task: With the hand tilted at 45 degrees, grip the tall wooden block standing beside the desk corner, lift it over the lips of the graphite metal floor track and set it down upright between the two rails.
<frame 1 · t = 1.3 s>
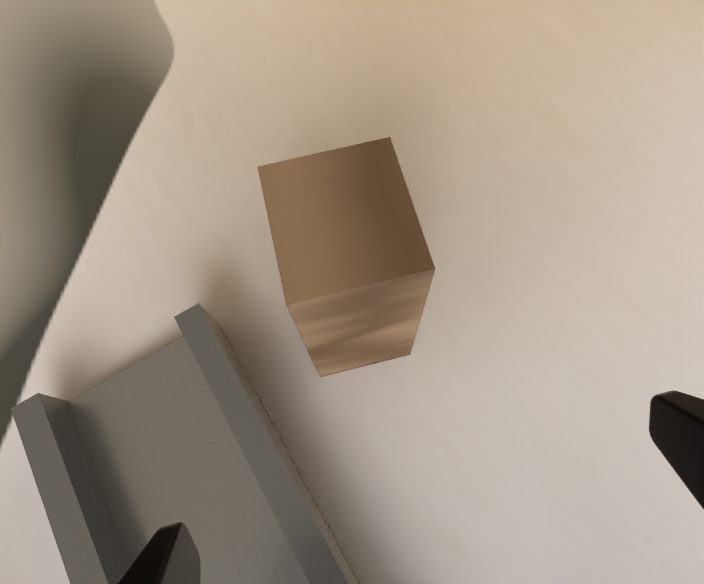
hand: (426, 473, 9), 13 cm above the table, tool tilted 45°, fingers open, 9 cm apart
wooden tall block: (352, 318, 25), on the table
floor track: (229, 567, 21), on the table
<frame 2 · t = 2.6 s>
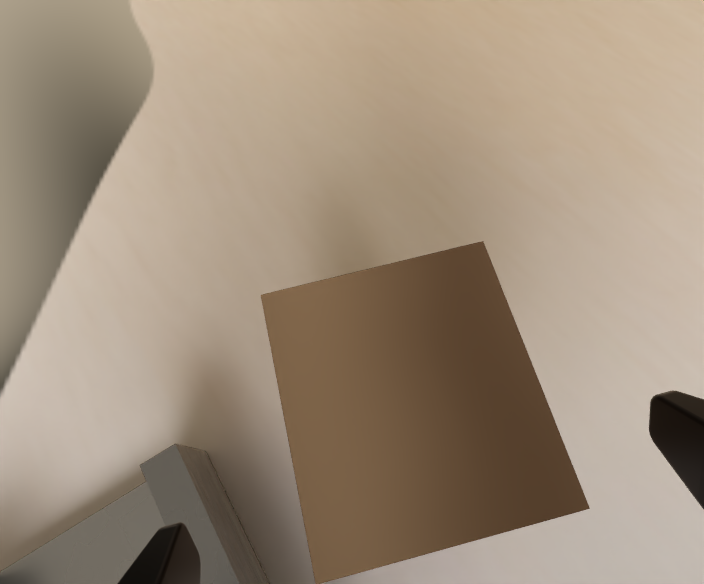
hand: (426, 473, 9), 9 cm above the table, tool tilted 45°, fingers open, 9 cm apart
wooden tall block: (390, 443, 18), on the table
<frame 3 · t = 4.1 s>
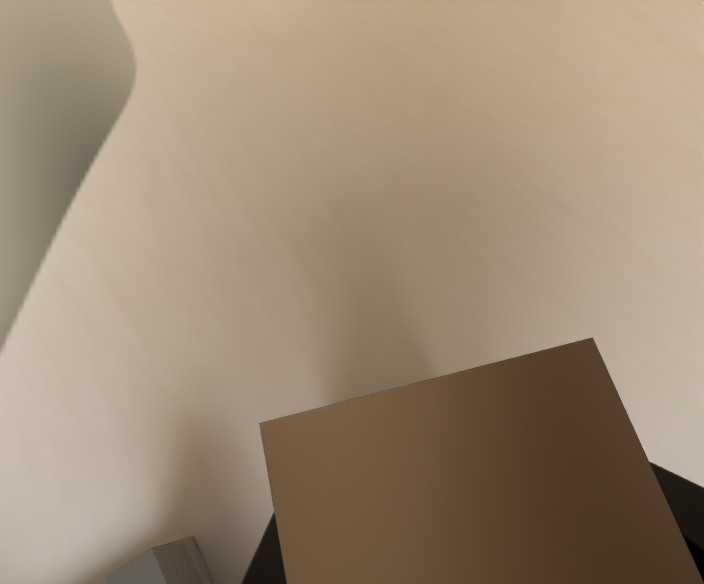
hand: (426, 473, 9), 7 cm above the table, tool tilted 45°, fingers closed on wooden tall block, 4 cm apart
wooden tall block: (417, 526, 15), on the table, touching gripper
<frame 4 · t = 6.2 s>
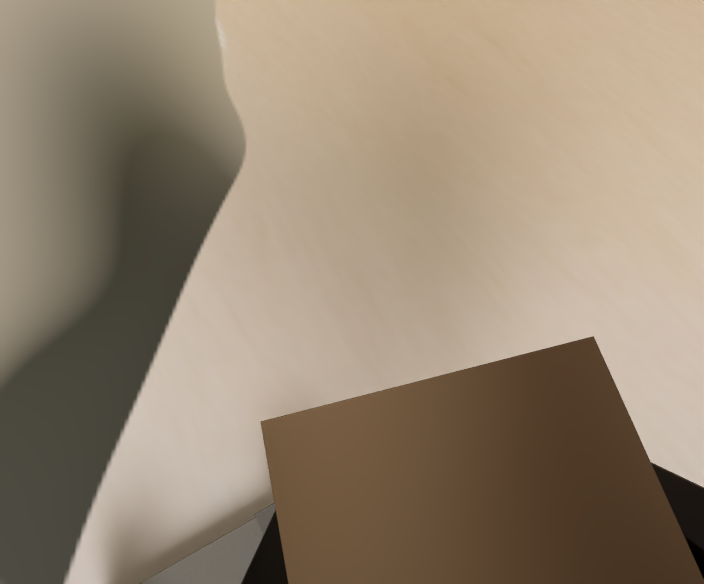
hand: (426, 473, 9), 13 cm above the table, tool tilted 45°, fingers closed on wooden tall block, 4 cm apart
wooden tall block: (417, 526, 15), point 7 cm above the table, touching gripper
when the fingers open (8 cm above the table, at t = 8.6 s): wooden tall block stays where it is, resting on floor track.
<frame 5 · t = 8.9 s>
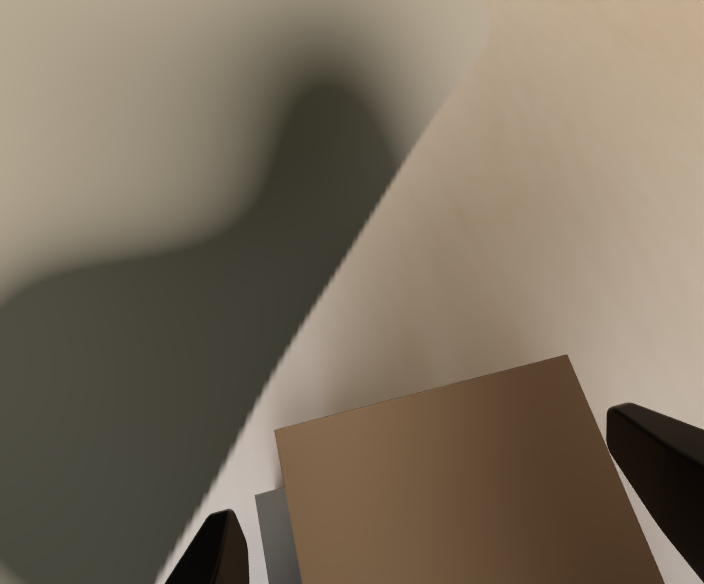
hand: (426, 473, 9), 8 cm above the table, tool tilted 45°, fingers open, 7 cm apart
wooden tall block: (414, 523, 16), point 1 cm above the table, touching floor track
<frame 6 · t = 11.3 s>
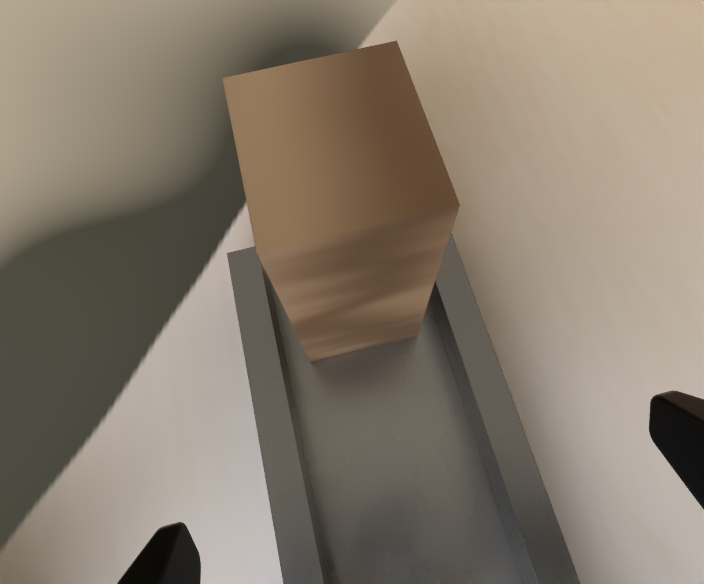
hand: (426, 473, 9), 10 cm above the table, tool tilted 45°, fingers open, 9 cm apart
wooden tall block: (349, 292, 21), point 1 cm above the table, touching floor track
floor track: (400, 490, 19), on the table
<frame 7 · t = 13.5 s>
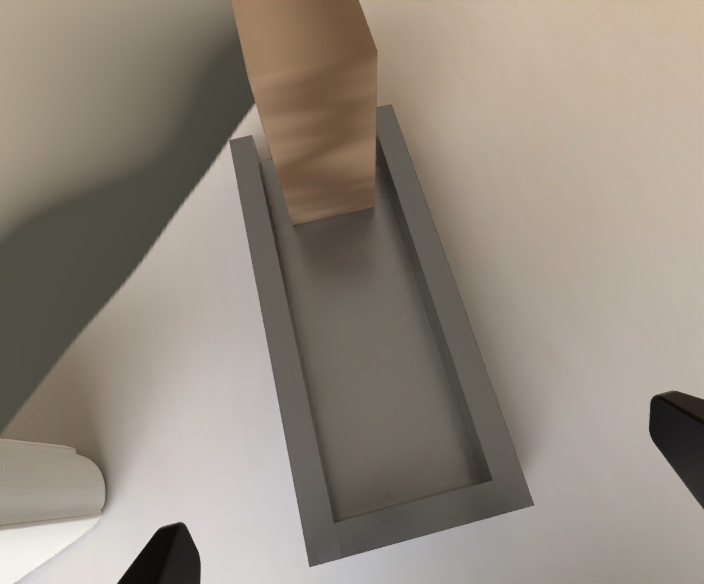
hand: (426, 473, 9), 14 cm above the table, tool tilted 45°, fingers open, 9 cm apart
wooden tall block: (323, 177, 27), point 1 cm above the table, touching floor track
floor track: (359, 315, 25), on the table
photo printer: (0, 543, 22), on the table
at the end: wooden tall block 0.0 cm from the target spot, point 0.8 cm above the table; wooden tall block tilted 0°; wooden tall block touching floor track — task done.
